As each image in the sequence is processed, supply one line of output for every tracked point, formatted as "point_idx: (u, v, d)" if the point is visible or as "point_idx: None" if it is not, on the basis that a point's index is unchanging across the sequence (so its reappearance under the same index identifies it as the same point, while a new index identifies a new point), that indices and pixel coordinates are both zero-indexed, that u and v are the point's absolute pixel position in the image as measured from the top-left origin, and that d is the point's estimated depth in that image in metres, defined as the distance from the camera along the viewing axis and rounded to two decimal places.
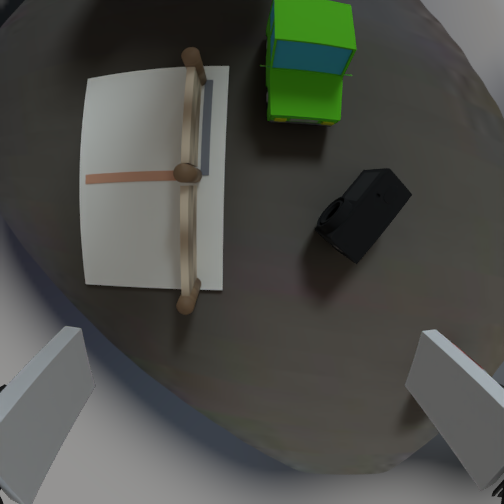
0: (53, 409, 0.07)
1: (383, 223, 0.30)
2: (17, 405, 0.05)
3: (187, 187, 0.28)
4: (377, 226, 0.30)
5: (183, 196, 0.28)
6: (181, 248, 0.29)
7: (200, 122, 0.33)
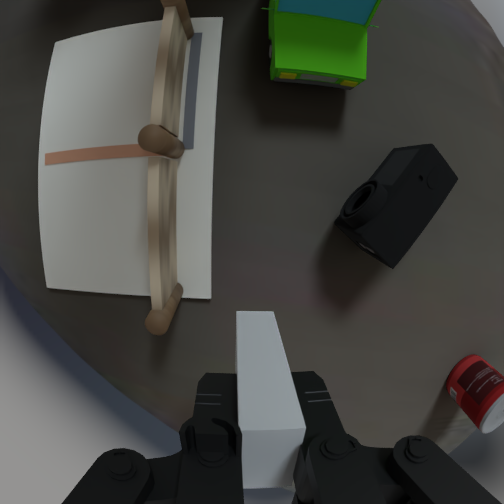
0: None
1: (426, 215, 0.21)
2: (265, 381, 0.08)
3: (158, 159, 0.19)
4: (419, 219, 0.21)
5: (151, 171, 0.19)
6: (149, 244, 0.20)
7: (184, 82, 0.24)
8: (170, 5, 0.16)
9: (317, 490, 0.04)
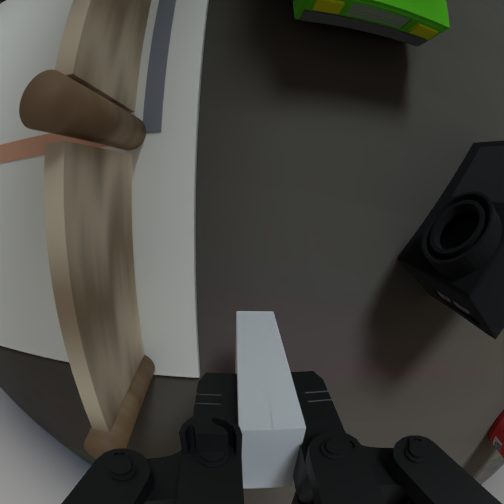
0: None
1: None
2: (265, 381, 0.08)
3: (62, 146, 0.07)
4: None
5: (51, 175, 0.07)
6: (63, 329, 0.08)
7: (150, 27, 0.12)
8: None
9: (317, 490, 0.04)
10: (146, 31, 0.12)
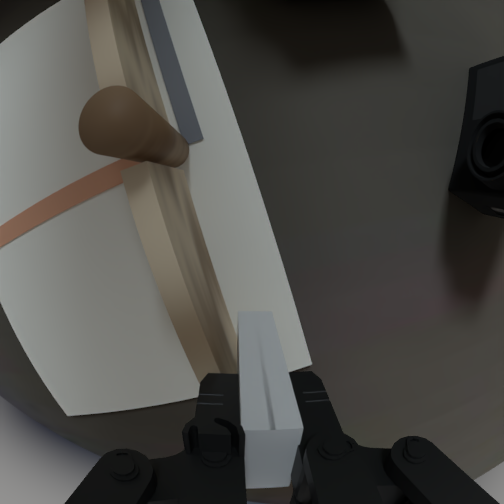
0: None
1: None
2: (267, 381, 0.08)
3: (145, 167, 0.07)
4: None
5: (139, 202, 0.08)
6: (194, 362, 0.09)
7: (148, 44, 0.12)
8: None
9: (315, 490, 0.04)
10: None
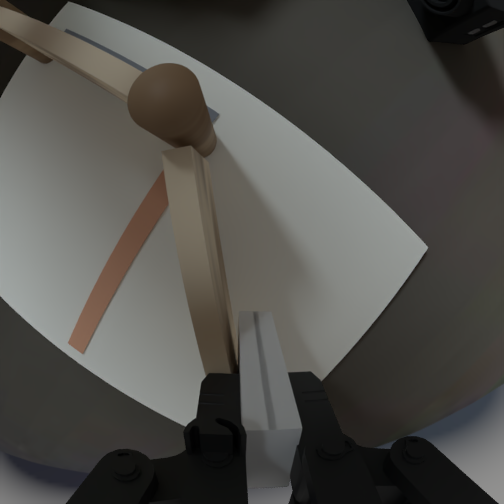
0: None
1: None
2: (268, 381, 0.08)
3: (188, 152, 0.07)
4: None
5: (177, 186, 0.08)
6: (204, 356, 0.09)
7: None
8: None
9: (313, 491, 0.04)
10: None
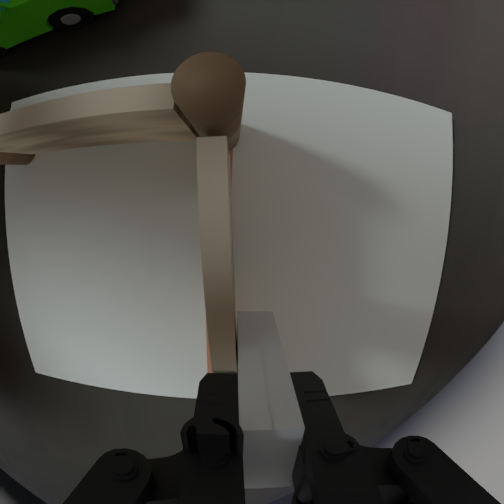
0: None
1: None
2: (266, 381, 0.08)
3: (223, 142, 0.08)
4: None
5: (208, 174, 0.08)
6: (213, 347, 0.09)
7: None
8: None
9: (316, 490, 0.04)
10: None
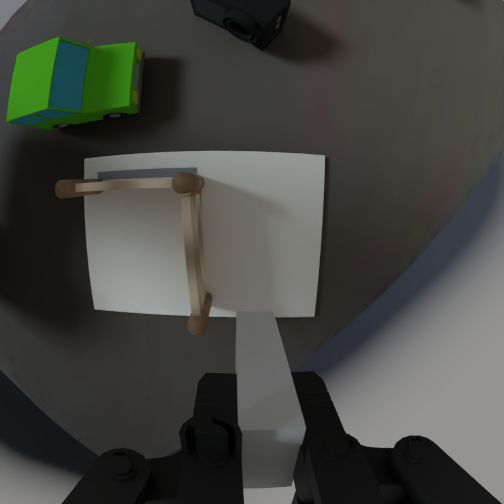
0: None
1: None
2: (265, 381, 0.08)
3: (188, 198, 0.25)
4: None
5: (184, 208, 0.25)
6: (187, 265, 0.27)
7: None
8: (74, 187, 0.24)
9: (317, 490, 0.04)
10: None
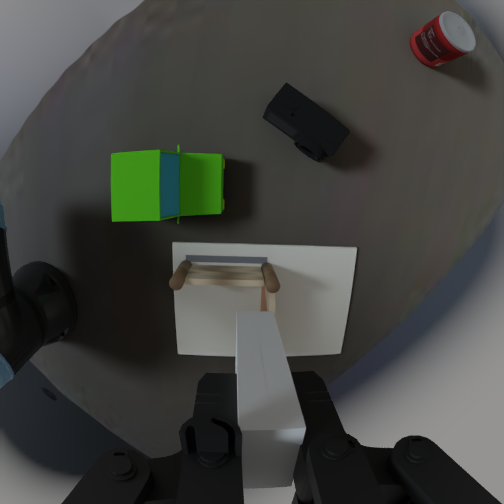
0: None
1: (315, 108, 0.34)
2: (265, 381, 0.08)
3: (274, 293, 0.38)
4: (318, 114, 0.34)
5: (271, 299, 0.39)
6: None
7: (223, 264, 0.44)
8: (184, 281, 0.37)
9: (317, 490, 0.04)
10: (225, 265, 0.44)
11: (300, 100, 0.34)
